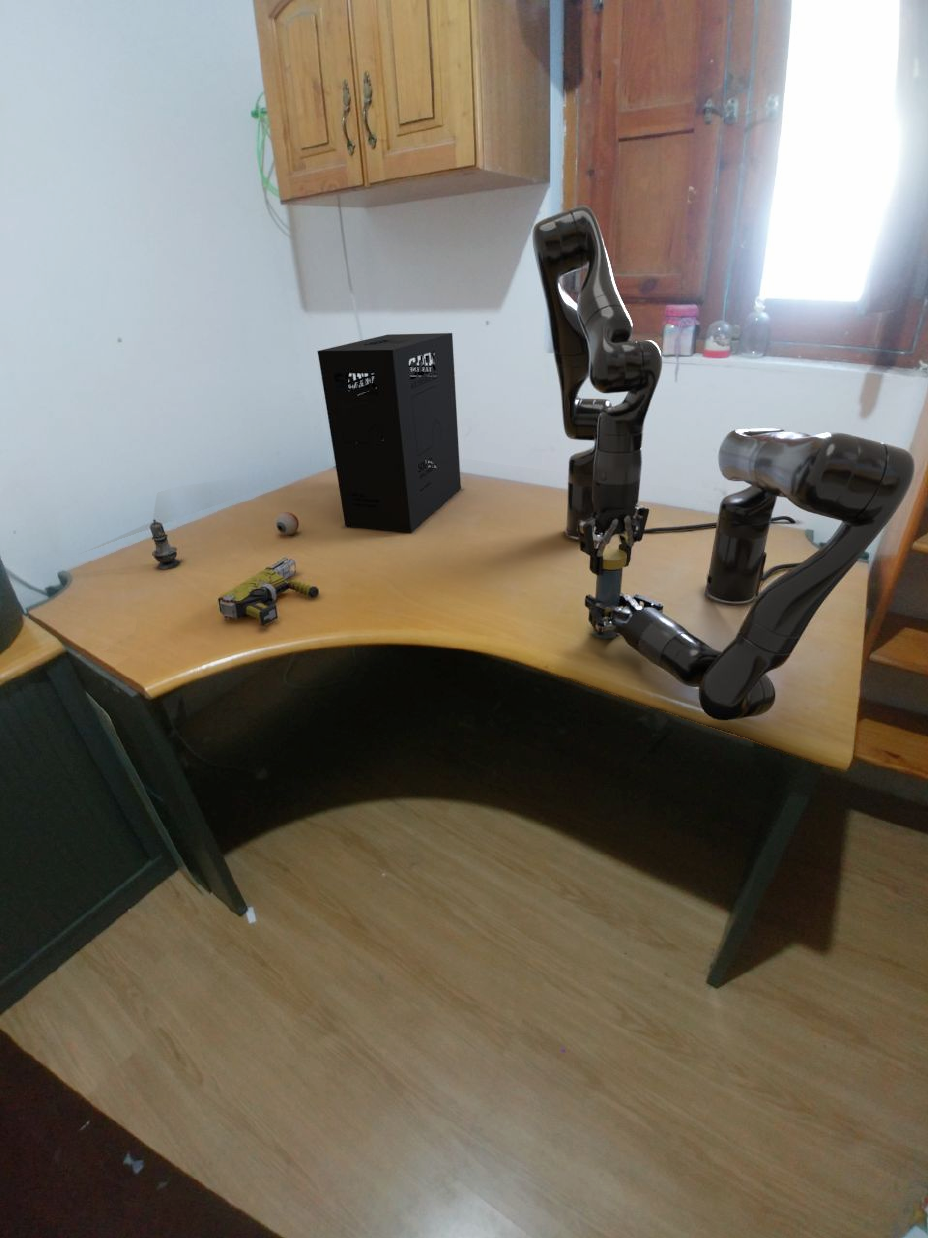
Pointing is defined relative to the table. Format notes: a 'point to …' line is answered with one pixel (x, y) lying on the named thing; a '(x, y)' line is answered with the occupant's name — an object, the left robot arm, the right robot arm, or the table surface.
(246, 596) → the toy gun
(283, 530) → the eyeball
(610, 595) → the blue grey cylinder
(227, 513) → the table surface
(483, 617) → the table surface
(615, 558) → the lid
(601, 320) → the left robot arm
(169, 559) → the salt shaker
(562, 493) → the table surface
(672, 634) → the right robot arm
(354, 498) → the cardboard box
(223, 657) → the table surface
